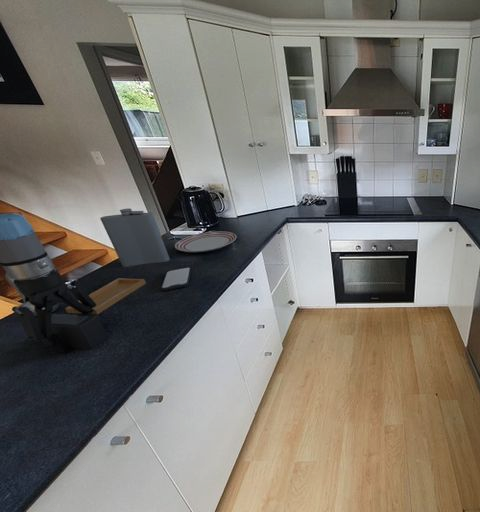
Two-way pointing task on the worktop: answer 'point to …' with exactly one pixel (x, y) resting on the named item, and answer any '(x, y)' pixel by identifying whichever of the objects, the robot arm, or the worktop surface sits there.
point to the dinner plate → (205, 242)
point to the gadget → (78, 330)
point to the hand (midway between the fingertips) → (78, 341)
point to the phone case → (176, 279)
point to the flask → (135, 237)
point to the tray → (111, 294)
